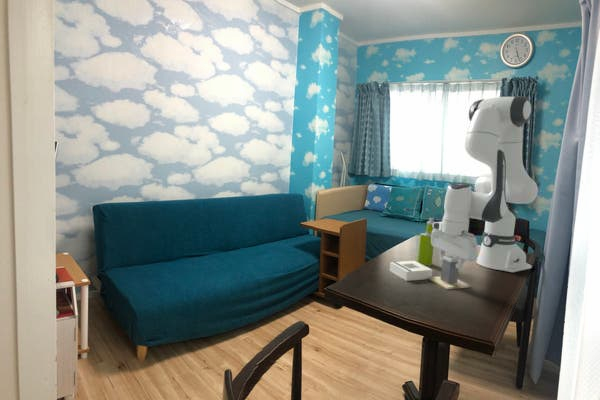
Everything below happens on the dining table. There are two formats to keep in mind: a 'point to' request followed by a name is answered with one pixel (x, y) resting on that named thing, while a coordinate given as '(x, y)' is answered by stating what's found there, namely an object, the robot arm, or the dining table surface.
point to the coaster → (451, 285)
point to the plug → (449, 269)
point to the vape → (426, 245)
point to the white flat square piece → (410, 270)
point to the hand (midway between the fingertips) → (450, 265)
